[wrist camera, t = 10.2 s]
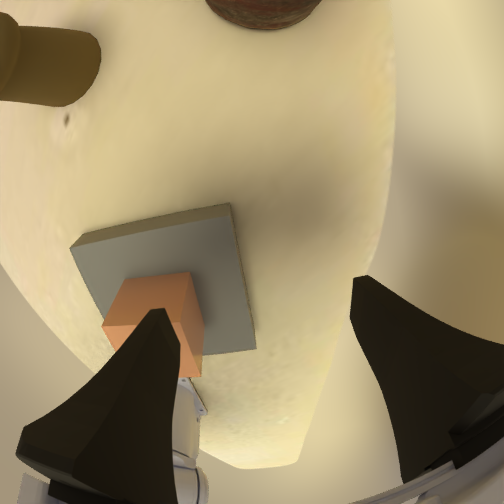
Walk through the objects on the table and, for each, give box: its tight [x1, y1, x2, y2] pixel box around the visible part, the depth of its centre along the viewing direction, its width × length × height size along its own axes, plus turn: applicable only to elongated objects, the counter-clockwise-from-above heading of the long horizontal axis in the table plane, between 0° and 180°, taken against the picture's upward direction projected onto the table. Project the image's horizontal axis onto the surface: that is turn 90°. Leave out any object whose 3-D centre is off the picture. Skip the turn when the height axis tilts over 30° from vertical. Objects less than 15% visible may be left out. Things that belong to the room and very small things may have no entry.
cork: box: [0, 12, 101, 107], centre depth 8 cm, size 6×6×11 cm
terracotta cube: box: [101, 272, 205, 378], centre depth 17 cm, size 5×5×5 cm
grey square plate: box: [69, 203, 257, 356], centre depth 21 cm, size 12×12×3 cm
